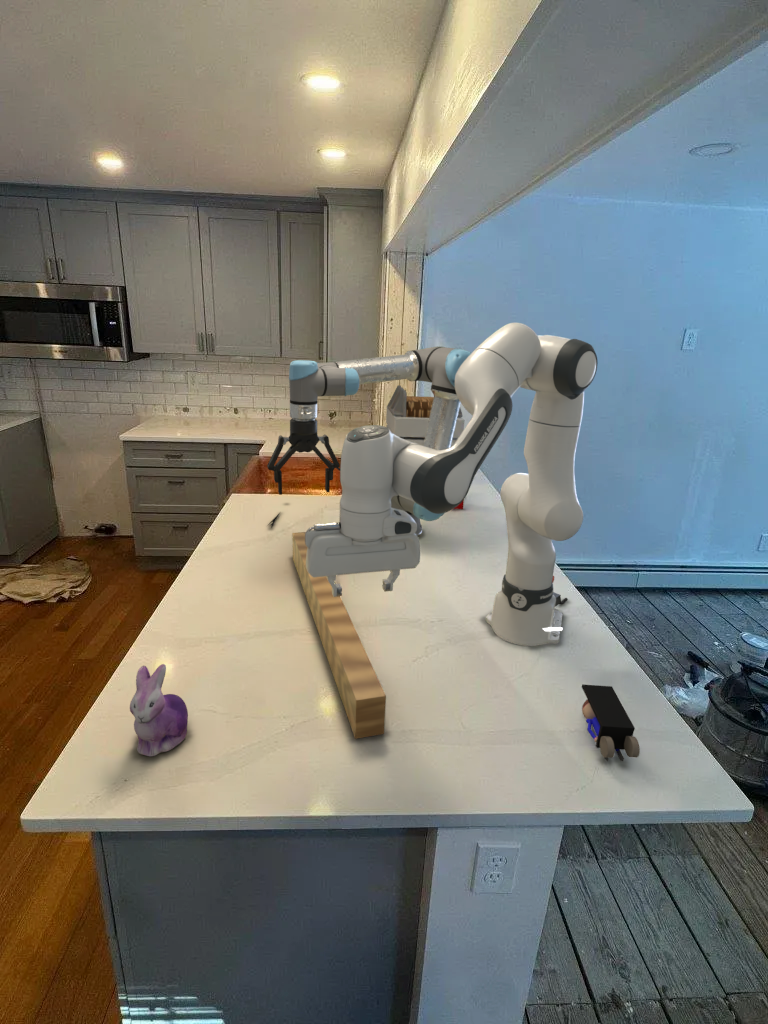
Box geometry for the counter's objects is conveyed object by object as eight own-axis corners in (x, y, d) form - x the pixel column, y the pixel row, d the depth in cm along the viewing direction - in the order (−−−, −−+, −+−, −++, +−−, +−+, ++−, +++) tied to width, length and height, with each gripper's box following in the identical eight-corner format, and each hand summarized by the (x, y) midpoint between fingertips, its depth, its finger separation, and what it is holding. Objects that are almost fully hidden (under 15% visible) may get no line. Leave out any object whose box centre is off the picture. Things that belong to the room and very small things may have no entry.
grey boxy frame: (382, 463, 289) (386, 382, 275) (445, 464, 293) (451, 384, 279) (390, 482, 257) (394, 392, 243) (460, 483, 261) (468, 394, 247)
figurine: (137, 767, 96) (127, 693, 90) (132, 728, 104) (122, 659, 99) (195, 750, 100) (189, 678, 95) (185, 714, 108) (179, 646, 103)
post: (292, 558, 177) (292, 532, 174) (310, 556, 178) (310, 531, 176) (355, 739, 104) (356, 700, 101) (384, 734, 106) (386, 695, 103)
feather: (287, 506, 225) (290, 502, 224) (270, 530, 198) (272, 526, 198) (283, 504, 225) (286, 500, 224) (265, 527, 198) (268, 523, 197)
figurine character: (636, 775, 100) (605, 711, 114) (646, 744, 97) (613, 682, 111) (599, 774, 100) (572, 710, 114) (608, 744, 97) (579, 681, 110)
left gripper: (258, 421, 149) (261, 498, 156) (351, 420, 156) (349, 493, 163) (256, 416, 156) (258, 490, 163) (344, 415, 163) (343, 486, 170)
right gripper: (307, 531, 92) (308, 607, 97) (426, 523, 98) (420, 595, 102) (301, 518, 98) (302, 590, 102) (413, 511, 103) (409, 579, 108)
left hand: (304, 492), depth 163 cm, fingers open, 13 cm apart
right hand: (362, 592), depth 102 cm, fingers open, 8 cm apart
